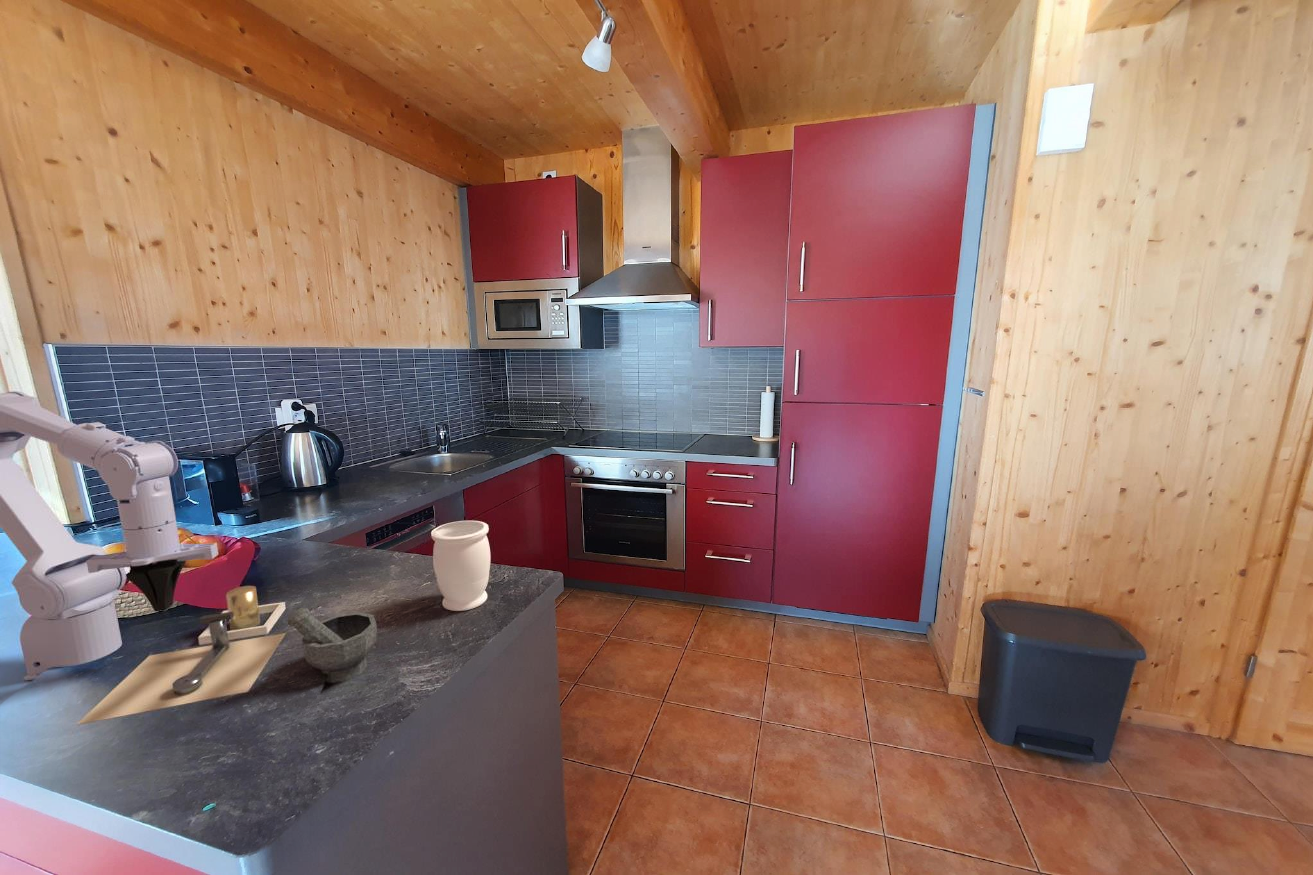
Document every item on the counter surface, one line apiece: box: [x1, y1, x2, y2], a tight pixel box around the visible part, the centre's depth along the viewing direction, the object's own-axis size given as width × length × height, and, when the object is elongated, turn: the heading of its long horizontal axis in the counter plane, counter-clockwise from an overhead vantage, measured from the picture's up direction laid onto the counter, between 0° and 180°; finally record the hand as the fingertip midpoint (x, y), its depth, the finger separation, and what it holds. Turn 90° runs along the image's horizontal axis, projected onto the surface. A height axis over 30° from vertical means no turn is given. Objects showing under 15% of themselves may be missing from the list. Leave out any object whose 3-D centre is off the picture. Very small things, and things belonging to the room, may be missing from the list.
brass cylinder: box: [225, 585, 261, 631], centre depth 87 cm, size 4×4×7 cm
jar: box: [430, 520, 491, 612], centre depth 97 cm, size 11×10×15 cm
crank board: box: [75, 632, 287, 726], centre depth 74 cm, size 18×16×1 cm
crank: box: [172, 612, 234, 695], centre depth 74 cm, size 12×4×6 cm, turn 20°
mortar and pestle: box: [286, 607, 378, 684], centre depth 75 cm, size 11×9×12 cm
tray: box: [197, 601, 286, 646], centre depth 87 cm, size 9×9×2 cm
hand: (164, 607), depth 77 cm, fingers closed
